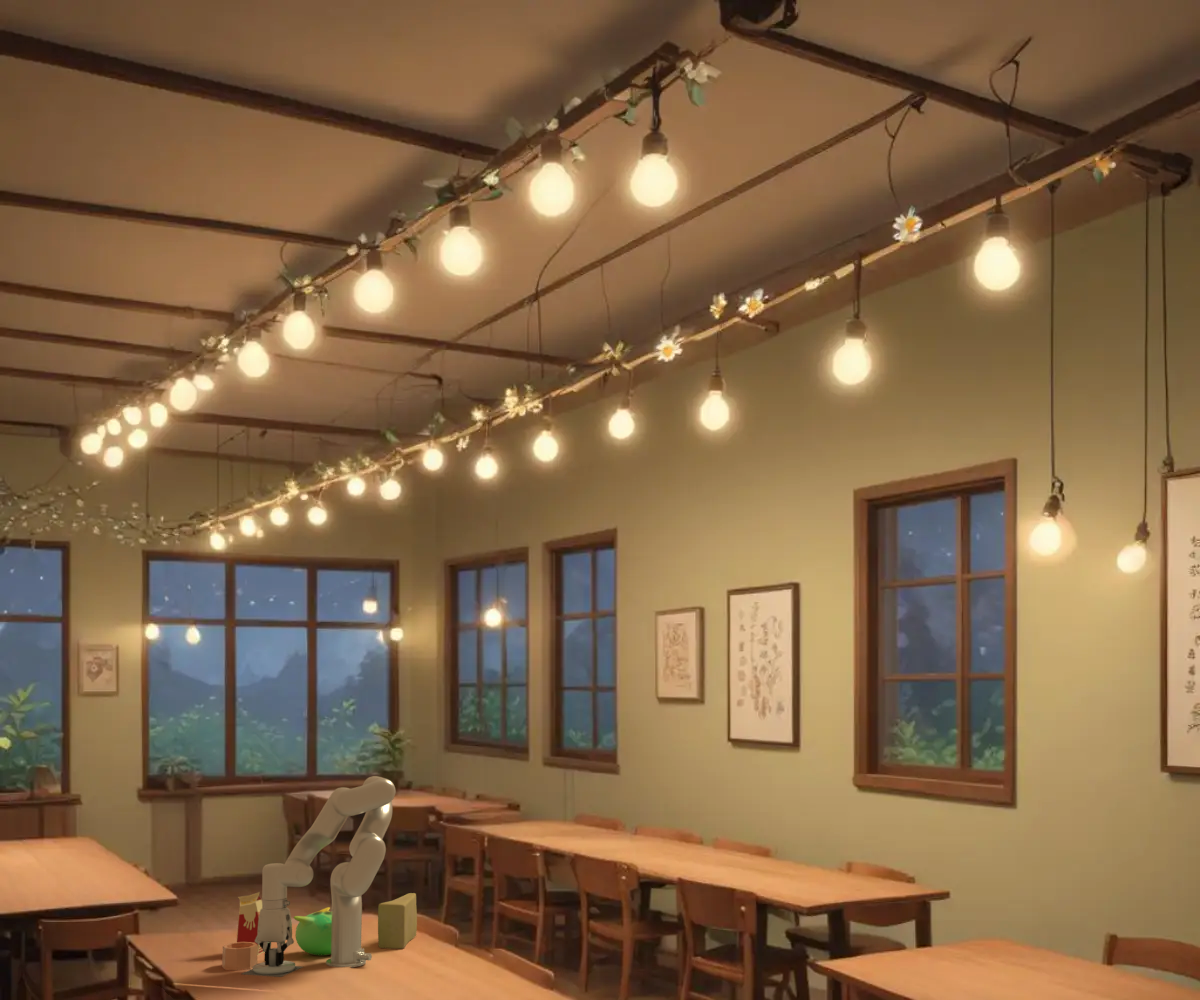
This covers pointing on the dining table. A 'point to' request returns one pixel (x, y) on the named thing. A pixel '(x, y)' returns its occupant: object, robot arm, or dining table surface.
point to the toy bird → (315, 932)
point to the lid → (273, 965)
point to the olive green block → (397, 922)
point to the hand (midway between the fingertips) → (274, 964)
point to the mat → (271, 974)
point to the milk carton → (249, 919)
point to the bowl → (239, 955)
